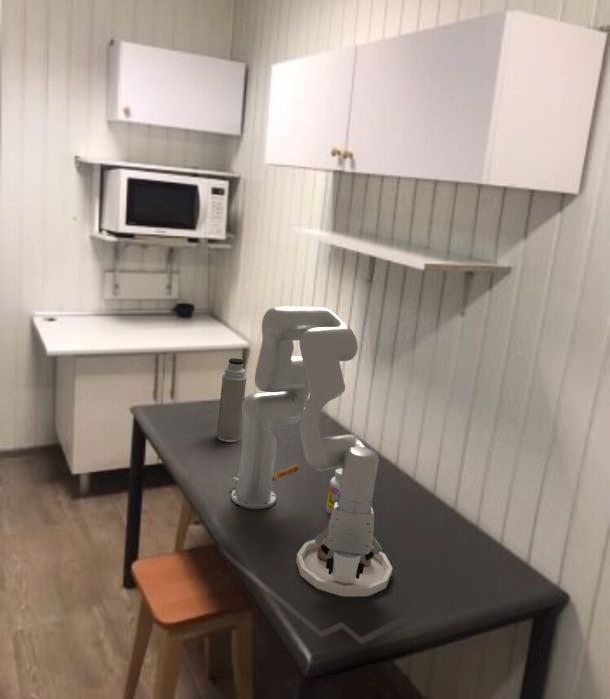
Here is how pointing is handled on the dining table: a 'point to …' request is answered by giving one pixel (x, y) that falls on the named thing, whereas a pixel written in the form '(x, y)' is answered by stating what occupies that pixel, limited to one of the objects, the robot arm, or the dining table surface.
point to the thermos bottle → (232, 400)
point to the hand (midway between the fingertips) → (343, 572)
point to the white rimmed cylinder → (345, 566)
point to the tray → (318, 576)
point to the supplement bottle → (333, 489)
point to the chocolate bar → (286, 471)
